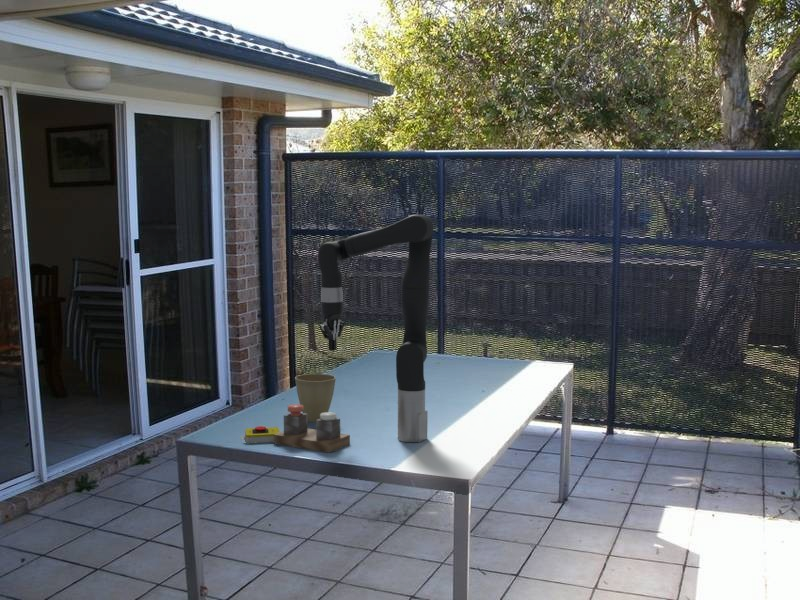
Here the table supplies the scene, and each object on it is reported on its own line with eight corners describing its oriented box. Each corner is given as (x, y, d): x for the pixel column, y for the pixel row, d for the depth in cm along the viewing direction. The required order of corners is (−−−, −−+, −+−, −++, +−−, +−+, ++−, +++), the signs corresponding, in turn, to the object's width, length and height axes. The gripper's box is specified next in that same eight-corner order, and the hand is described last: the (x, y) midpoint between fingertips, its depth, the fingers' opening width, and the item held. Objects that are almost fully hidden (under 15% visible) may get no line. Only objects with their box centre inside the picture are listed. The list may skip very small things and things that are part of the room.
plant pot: (325, 426, 288) (325, 382, 287) (288, 422, 294) (287, 379, 292) (342, 416, 302) (342, 375, 301) (306, 413, 308) (306, 372, 306)
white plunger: (339, 433, 264) (339, 413, 263) (330, 437, 259) (330, 416, 259) (326, 431, 266) (326, 411, 266) (317, 435, 262) (317, 414, 261)
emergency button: (240, 425, 275) (285, 423, 278) (240, 437, 275) (285, 435, 278) (241, 432, 266) (286, 430, 269) (241, 445, 266) (287, 442, 269)
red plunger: (306, 425, 270) (306, 405, 269) (297, 428, 265) (297, 408, 265) (293, 423, 272) (293, 403, 272) (284, 426, 268) (284, 406, 267)
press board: (349, 443, 266) (349, 416, 265) (329, 452, 256) (329, 425, 255) (295, 435, 277) (295, 409, 276) (273, 443, 266) (273, 416, 265)
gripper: (330, 302, 269) (331, 354, 271) (351, 299, 280) (352, 348, 282) (311, 301, 272) (312, 352, 274) (333, 298, 284) (333, 346, 286)
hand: (332, 350), depth 278 cm, fingers closed
